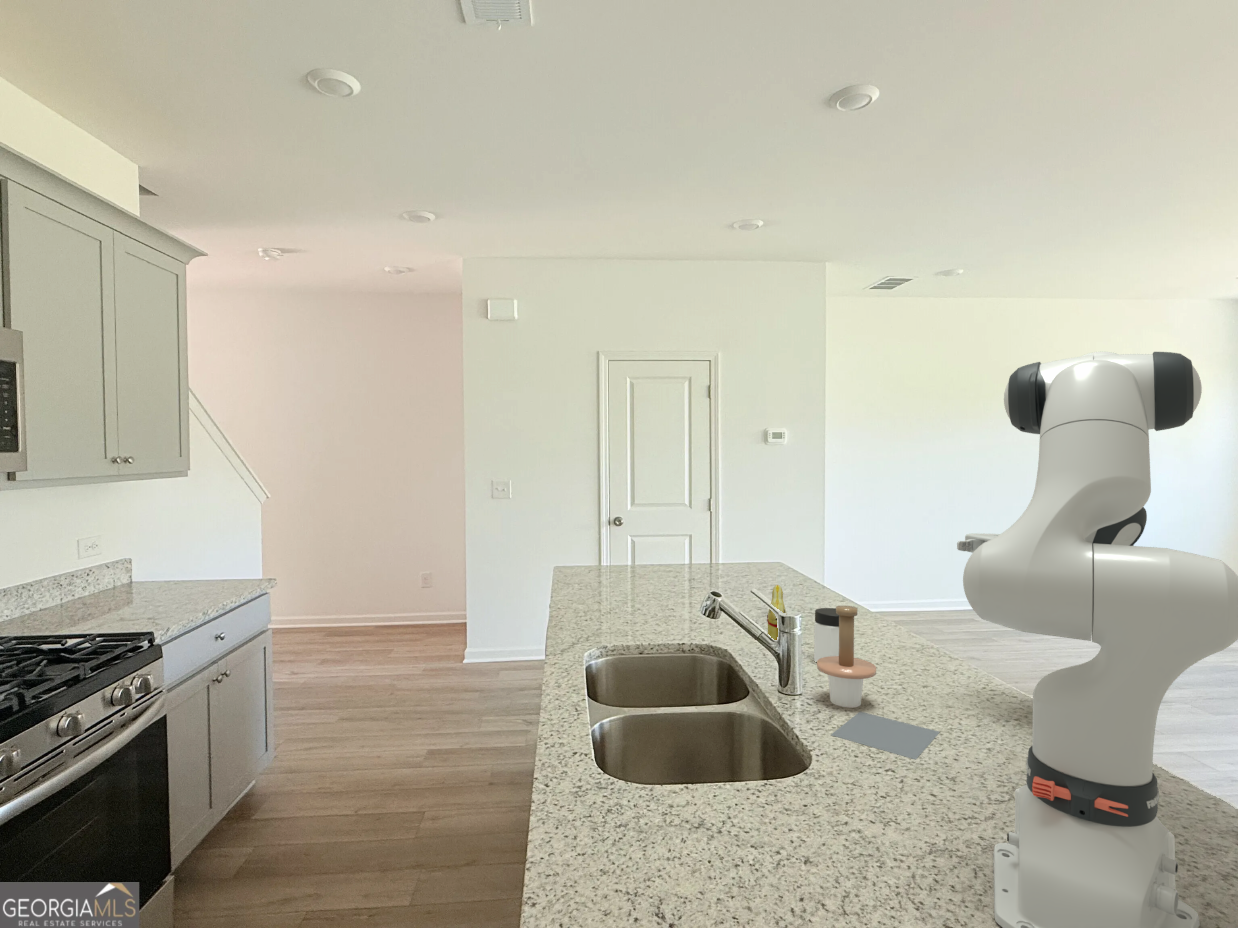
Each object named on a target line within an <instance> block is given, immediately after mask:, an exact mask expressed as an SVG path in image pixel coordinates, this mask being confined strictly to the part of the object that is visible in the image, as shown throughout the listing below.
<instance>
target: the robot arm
mask: <svg viewBox="0 0 1238 928" xmlns="http://www.w3.org/2000/svg"><path fill="white" fill-rule="evenodd" d="M1202 389H1203V387H1202V382H1201V377H1200V375H1199V373H1198V370H1197V369H1196V368H1195V366H1194V365H1193V363H1192V360H1191V359H1190V358H1188V357H1187V356H1186V355H1184V354H1182V353H1178V352H1170V351H1153V352H1152V353H1121V354H1120V353H1117V352H1112V351H1094V352H1088V353H1086V354H1083V355H1080V356H1075V357H1068V358H1063V359H1058V360H1052V361H1048V362H1043V363H1042V362H1041V361H1036V362H1032V363H1030V364H1029V363H1028V364H1026V365H1023V366H1020V367H1018V368H1017V369H1015V371H1013V372H1012V373H1011V374H1010V376H1009V379H1008V382H1007V384H1006V386H1005V391H1004V393H1003V405H1004V408H1005V409H1004V410H1005V413H1006V414H1007V417H1008V418H1009V419H1010V423H1011V425H1012V426H1013V427H1014V428H1015V429H1017V430H1019V431H1020V432H1022V433H1027V434H1033V435H1039V447H1038V448H1039V450H1038V462H1037V463H1038V464H1037V472H1036V480H1035V487H1034V491H1033V494H1032V497H1031V500H1030V502H1029V504H1028V505H1027V507H1026V509H1025V510H1024V511H1023V513H1022V514H1021V515H1020V517H1019V518H1018V519H1017V520H1016V521H1015V522H1013V524H1011V526H1010V527H1008V528H1007V529H1006V530H1004V531H1003V532H1001V533H978V532H977V533H967V534H966V535H965V536H964V540H957V543H956V545H957V546H956V549H957V551H961V552H967V553H971V554H970V556H969V558H968V559H967V562H966V564H965V566H964V569H963V577H962V583H963V590H964V591H963V592H964V595H965V596H966V600H967V601H968V604H969V606H970V607H971V609H972V610H973V611H974V612H975V614H976V615H977V616H978V617H979V618H980V619H981V620H984V621H986V622H989V623H992V624H995V625H998V626H1002V627H1004V628H1005V627H1006V628H1008V629H1012V630H1015V631H1019V632H1022V633H1027V634H1028V633H1029V634H1037V635H1043V636H1050V637H1051V636H1052V637H1059V638H1063V639H1064V638H1065V639H1071V640H1073V639H1074V640H1080V641H1087V642H1091V643H1095V644H1097V645H1099V646H1100V648H1099V650H1098V653H1097V654H1096V655H1095V656H1094V657H1093V658H1092V659H1090V660H1088V661H1086V662H1083V663H1080V664H1075V665H1073V666H1067V667H1064V668H1063V667H1062V668H1060V669H1057V670H1054V671H1052V672H1049V673H1048V674H1046V675H1044V676H1043V677H1042V678H1040V679H1039V680H1038V682H1037V683H1036V685H1035V687H1034V689H1033V693H1032V737H1031V739H1032V740H1031V741H1032V745H1031V746H1030V747H1029V748H1028V752H1027V758H1026V764H1025V765H1026V766H1025V771H1026V783H1025V785H1023V786H1021V787H1019V788H1016V789H1015V791H1014V793H1015V794H1014V831H1008V833H1006V835H1007V837H1006V838H1007V840H1006V842H998V843H996V844H994V847H993V854H992V855H993V857H992V858H993V859H992V860H993V901H994V902H993V905H994V906H993V907H994V909H993V911H994V912H993V913H994V920H995V922H996V923H997V924H998V925H999V926H1000V927H1002V928H1200V923H1201V922H1200V917H1199V916H1200V915H1199V913H1198V911H1196V910H1195V909H1194V908H1193V907H1192V906H1190V905H1188V904H1187V903H1186V902H1184V901H1183V900H1181V899H1179V891H1178V890H1177V889H1176V876H1177V874H1178V869H1179V862H1178V860H1176V847H1175V846H1176V842H1175V841H1176V839H1175V835H1174V834H1173V833H1172V832H1171V831H1170V830H1169V828H1167V827H1166V826H1165V825H1164V824H1163V823H1162V821H1161V820H1160V819H1159V817H1158V816H1157V815H1158V812H1159V806H1158V805H1159V800H1160V792H1159V787H1158V777H1157V776H1156V775H1155V773H1154V772H1153V770H1154V769H1153V767H1154V766H1153V765H1154V764H1153V763H1154V760H1153V759H1154V743H1155V734H1156V725H1157V720H1158V713H1159V709H1160V706H1161V704H1162V701H1163V699H1164V697H1165V695H1166V693H1167V691H1168V690H1169V689H1170V687H1171V686H1172V685H1173V684H1174V682H1175V681H1176V680H1177V679H1178V678H1179V677H1180V676H1181V675H1182V674H1183V673H1184V672H1185V671H1187V669H1189V668H1190V667H1192V666H1194V665H1195V664H1196V663H1198V662H1200V661H1201V660H1204V659H1206V658H1207V657H1210V656H1211V655H1215V654H1216V653H1219V652H1220V653H1221V652H1222V651H1224V650H1225V649H1228V648H1229V647H1231V645H1233V644H1234V643H1235V642H1236V641H1237V640H1238V574H1236V572H1235V571H1234V570H1233V569H1232V568H1231V567H1230V566H1229V565H1228V564H1227V563H1225V562H1224V561H1222V560H1221V559H1219V558H1213V557H1209V556H1205V555H1201V554H1197V553H1192V552H1188V551H1183V550H1182V551H1181V550H1177V549H1172V548H1167V547H1156V546H1153V547H1152V546H1141V545H1140V546H1139V545H1135V544H1136V543H1137V542H1138V541H1139V539H1140V538H1141V536H1142V535H1143V533H1144V530H1145V528H1146V524H1147V520H1148V515H1147V510H1146V508H1145V507H1144V506H1145V505H1146V504H1147V502H1148V501H1149V499H1150V496H1151V492H1152V482H1151V481H1152V480H1151V462H1150V461H1151V459H1150V435H1149V434H1150V433H1149V432H1150V431H1149V430H1154V431H1156V432H1160V431H1165V430H1171V429H1175V428H1178V427H1182V426H1184V425H1186V423H1188V422H1189V421H1190V420H1191V419H1192V418H1193V416H1194V412H1195V411H1196V409H1197V407H1199V404H1200V401H1201V398H1202V391H1203V390H1202Z"/></svg>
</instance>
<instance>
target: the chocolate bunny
mask: <svg viewBox="0 0 1238 928" xmlns="http://www.w3.org/2000/svg"><path fill="white" fill-rule="evenodd" d="M771 604H772V605H773V606H774V607H776V608H777V609H779V610H780V611H782V612H783V613H786V614H787V611H786V606H785V603H784V592H783V589H782V586H780V585H779V584H776V585H775V586H774V587H773V589H772V591H771V602H770V605H771ZM766 622H767V635H768V634H769V635H770V636H771V638H773V639H774V640H777V637H778V628H777V618H776V616H775V614H774V613H773V612H772V611H771V610H770V609H768V613H767V616H766Z"/></svg>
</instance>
